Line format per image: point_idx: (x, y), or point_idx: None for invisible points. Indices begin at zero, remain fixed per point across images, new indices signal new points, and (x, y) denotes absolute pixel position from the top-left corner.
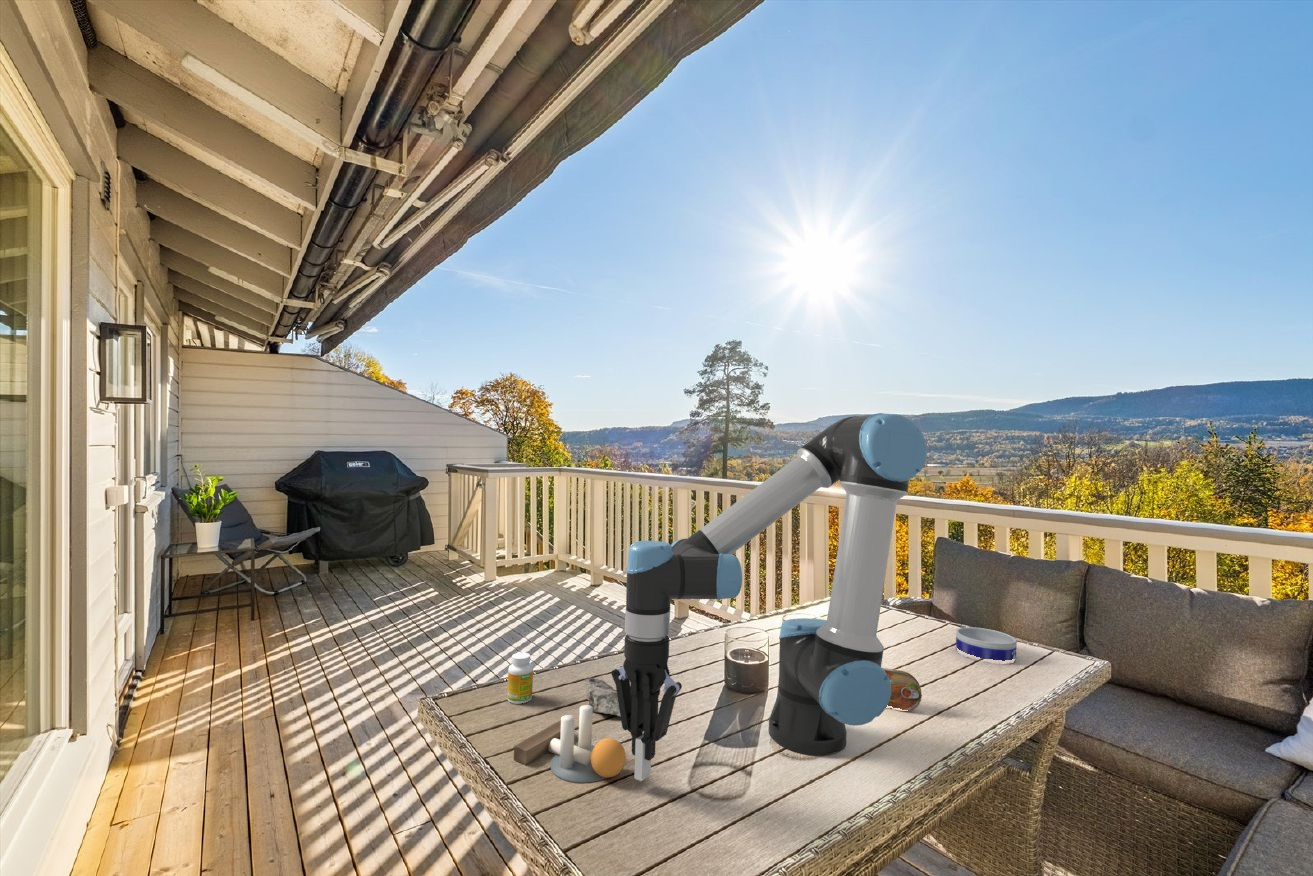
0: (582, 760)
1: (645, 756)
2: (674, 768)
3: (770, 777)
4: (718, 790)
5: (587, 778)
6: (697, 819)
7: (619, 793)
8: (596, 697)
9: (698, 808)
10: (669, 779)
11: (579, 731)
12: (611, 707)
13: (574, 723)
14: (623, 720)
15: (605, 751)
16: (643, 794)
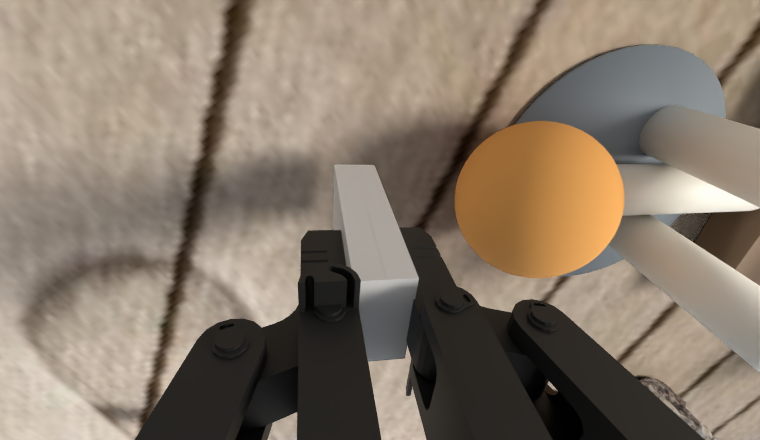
0: (621, 167)
1: (337, 239)
2: None
3: (43, 430)
4: (112, 308)
5: (562, 102)
6: (15, 123)
7: (406, 95)
8: None
9: (78, 188)
10: (293, 267)
11: (711, 254)
12: None
13: None
14: (584, 355)
15: (563, 177)
16: (319, 144)
